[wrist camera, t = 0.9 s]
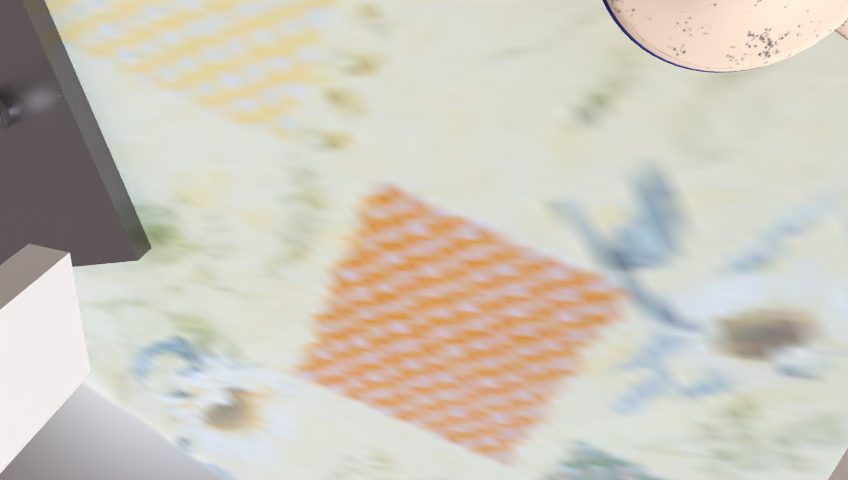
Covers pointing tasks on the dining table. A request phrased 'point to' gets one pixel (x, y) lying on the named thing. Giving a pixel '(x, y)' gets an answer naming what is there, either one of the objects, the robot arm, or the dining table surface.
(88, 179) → the shaft stand
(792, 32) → the teacup with lid
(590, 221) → the dining table surface
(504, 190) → the dining table surface
